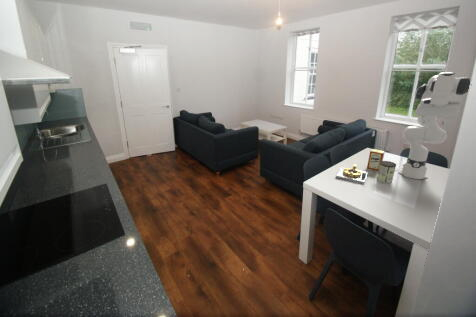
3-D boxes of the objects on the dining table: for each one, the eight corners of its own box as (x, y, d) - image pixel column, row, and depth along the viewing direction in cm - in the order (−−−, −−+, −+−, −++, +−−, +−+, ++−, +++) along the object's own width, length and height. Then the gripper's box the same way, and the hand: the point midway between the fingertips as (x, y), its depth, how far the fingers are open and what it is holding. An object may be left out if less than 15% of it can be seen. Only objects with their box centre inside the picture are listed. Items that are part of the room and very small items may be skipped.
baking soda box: (381, 168, 198) (384, 150, 192) (379, 171, 193) (383, 153, 187) (368, 165, 203) (372, 148, 198) (366, 168, 199) (370, 150, 193)
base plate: (341, 169, 198) (342, 162, 196) (367, 174, 188) (368, 167, 185) (335, 177, 183) (336, 171, 181) (363, 184, 172) (365, 176, 170)
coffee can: (380, 176, 184) (384, 159, 179) (394, 180, 176) (398, 163, 171) (373, 179, 179) (377, 162, 174) (388, 184, 171) (392, 167, 166)
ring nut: (341, 174, 183) (342, 170, 181) (346, 167, 196) (347, 162, 195) (360, 178, 176) (360, 173, 174) (363, 170, 189) (364, 165, 188)
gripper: (461, 101, 135) (454, 124, 140) (418, 99, 146) (412, 121, 151) (463, 102, 130) (455, 126, 135) (418, 100, 141) (412, 123, 146)
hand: (432, 123), depth 143 cm, fingers open, 8 cm apart
